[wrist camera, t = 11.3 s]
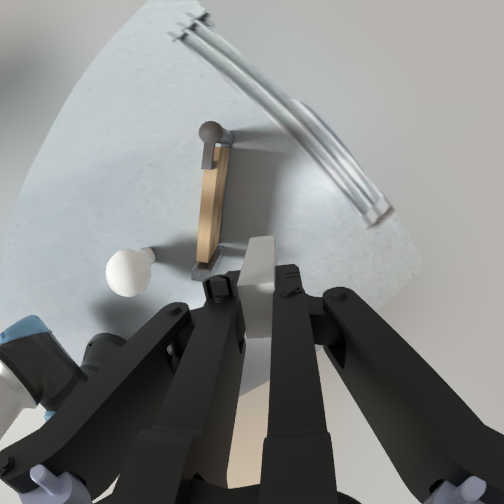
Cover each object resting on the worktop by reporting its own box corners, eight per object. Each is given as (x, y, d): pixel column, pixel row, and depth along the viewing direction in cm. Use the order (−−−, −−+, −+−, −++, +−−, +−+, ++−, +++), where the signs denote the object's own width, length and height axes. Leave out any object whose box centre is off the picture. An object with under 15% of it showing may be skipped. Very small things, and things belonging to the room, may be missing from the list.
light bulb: (125, 242, 42) (89, 268, 32) (157, 228, 41) (123, 252, 31) (143, 277, 44) (112, 310, 34) (174, 265, 43) (147, 299, 33)
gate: (221, 245, 41) (206, 272, 32) (205, 242, 41) (186, 268, 32) (235, 129, 35) (223, 122, 26) (218, 128, 35) (200, 120, 26)
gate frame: (222, 256, 42) (210, 282, 34) (203, 253, 42) (186, 279, 34) (236, 131, 35) (225, 125, 27) (214, 129, 36) (197, 123, 27)
